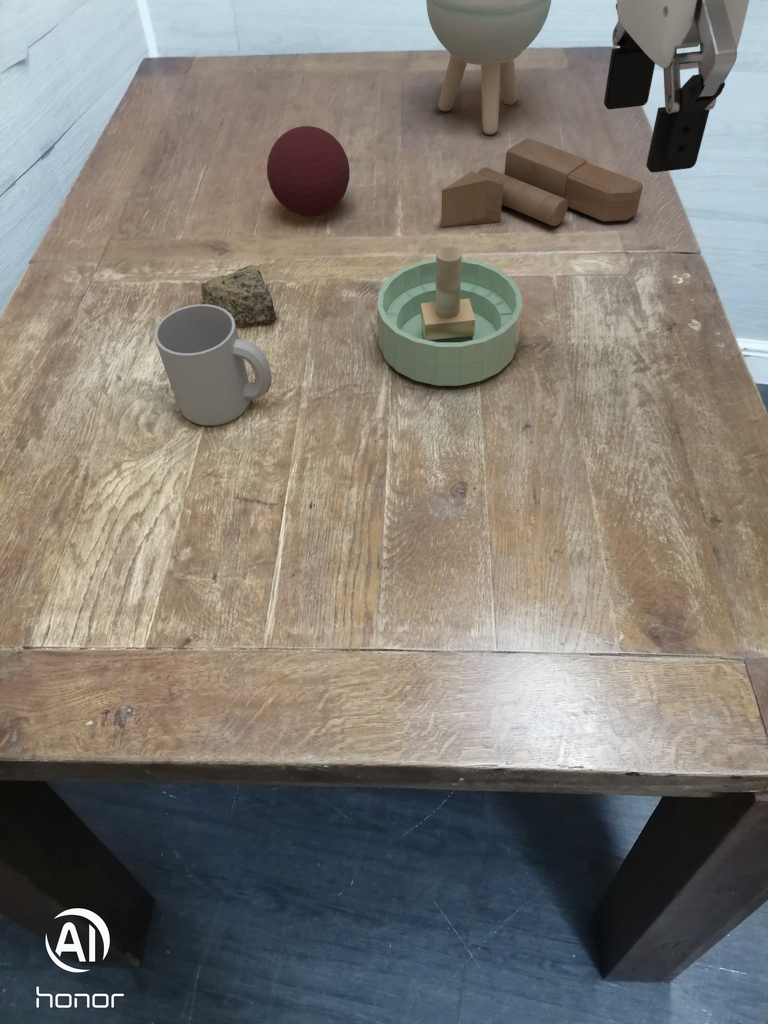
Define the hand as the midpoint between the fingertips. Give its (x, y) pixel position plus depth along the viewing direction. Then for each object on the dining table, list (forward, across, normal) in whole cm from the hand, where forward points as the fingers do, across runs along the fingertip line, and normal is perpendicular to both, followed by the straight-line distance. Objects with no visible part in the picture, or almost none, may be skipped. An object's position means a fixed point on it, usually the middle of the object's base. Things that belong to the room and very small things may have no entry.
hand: (646, 135), depth 54 cm
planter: (+24, +60, 0) cm, 64 cm away
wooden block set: (+25, +32, -2) cm, 40 cm away
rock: (+24, +20, +34) cm, 46 cm away
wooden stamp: (+24, +10, +13) cm, 29 cm away
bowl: (+25, +10, +12) cm, 29 cm away
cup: (+24, +5, +35) cm, 43 cm away
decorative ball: (+24, +39, +25) cm, 52 cm away
